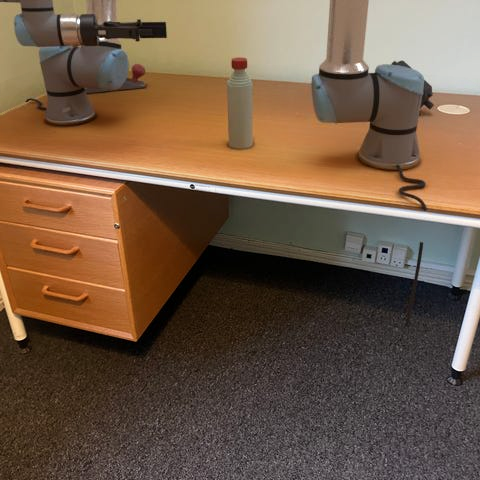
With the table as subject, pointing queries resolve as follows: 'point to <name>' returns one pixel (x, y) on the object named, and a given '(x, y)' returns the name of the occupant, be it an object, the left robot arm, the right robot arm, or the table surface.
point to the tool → (426, 88)
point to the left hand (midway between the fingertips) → (166, 29)
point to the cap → (239, 63)
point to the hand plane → (127, 80)
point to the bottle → (240, 110)
